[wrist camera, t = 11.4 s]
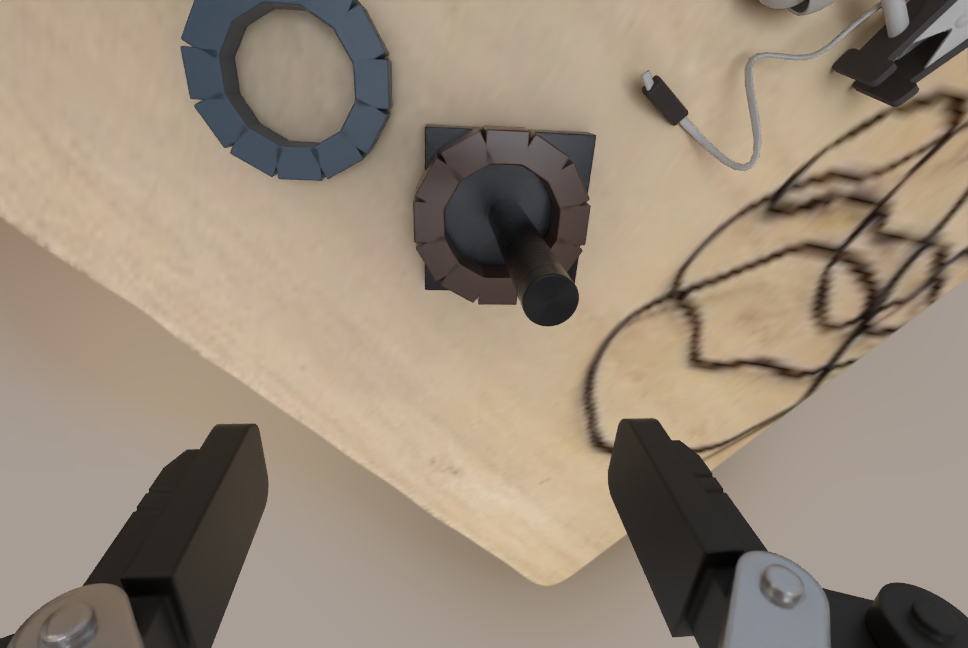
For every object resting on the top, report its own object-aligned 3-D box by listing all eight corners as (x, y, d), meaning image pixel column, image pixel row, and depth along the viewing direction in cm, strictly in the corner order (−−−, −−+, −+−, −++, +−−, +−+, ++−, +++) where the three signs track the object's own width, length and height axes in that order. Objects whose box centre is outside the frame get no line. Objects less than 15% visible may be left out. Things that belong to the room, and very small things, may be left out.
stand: (425, 281, 33) (420, 409, 20) (425, 124, 29) (418, 159, 16) (568, 284, 34) (649, 406, 21) (589, 132, 30) (708, 171, 17)
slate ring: (220, 169, 29) (204, 176, 27) (182, -41, 24) (161, -51, 22) (394, 176, 30) (391, 183, 28) (389, -24, 26) (385, -33, 24)
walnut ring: (416, 290, 32) (415, 304, 30) (413, 122, 27) (411, 126, 25) (568, 291, 33) (577, 304, 31) (589, 129, 28) (601, 133, 26)
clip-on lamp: (684, 184, 35) (986, 6, 28) (714, 225, 30) (1092, 22, 23) (605, 31, 29) (962, -241, 22) (627, 51, 24) (1095, -292, 17)
